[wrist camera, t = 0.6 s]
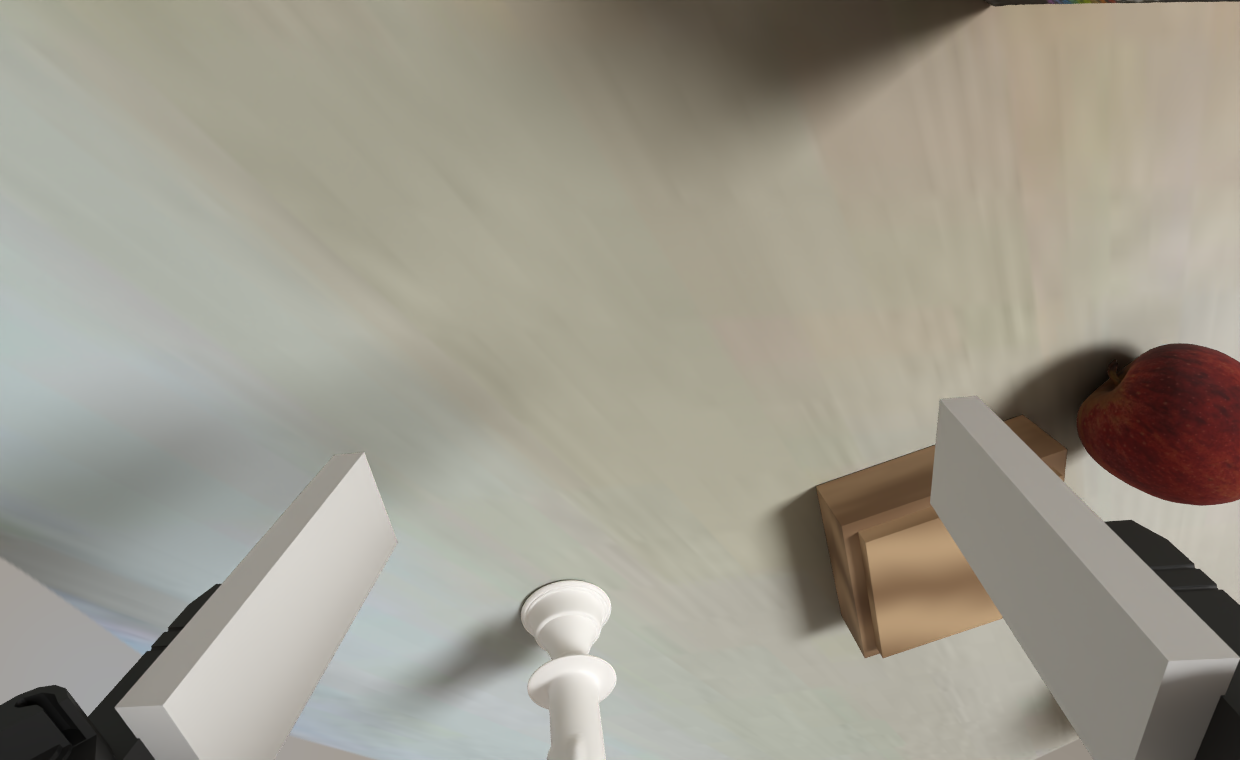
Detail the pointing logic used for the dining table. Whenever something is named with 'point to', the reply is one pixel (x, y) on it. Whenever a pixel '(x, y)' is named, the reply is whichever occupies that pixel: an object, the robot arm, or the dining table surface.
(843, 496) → the stand
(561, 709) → the candle
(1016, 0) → the chalk box
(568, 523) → the dining table surface
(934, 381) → the dining table surface
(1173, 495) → the apple
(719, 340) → the dining table surface
